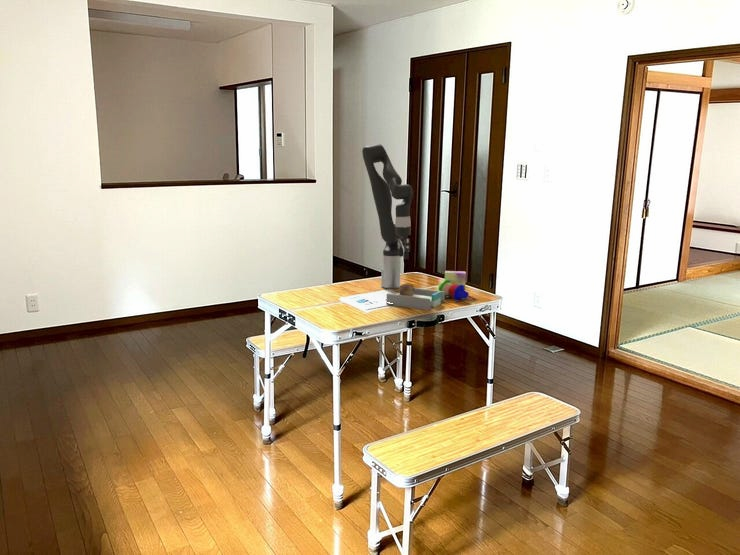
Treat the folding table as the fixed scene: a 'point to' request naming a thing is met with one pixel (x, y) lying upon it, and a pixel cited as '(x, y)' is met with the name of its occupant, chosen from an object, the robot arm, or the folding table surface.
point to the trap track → (418, 299)
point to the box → (456, 277)
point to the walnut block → (407, 290)
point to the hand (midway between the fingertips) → (403, 257)
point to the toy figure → (453, 291)
